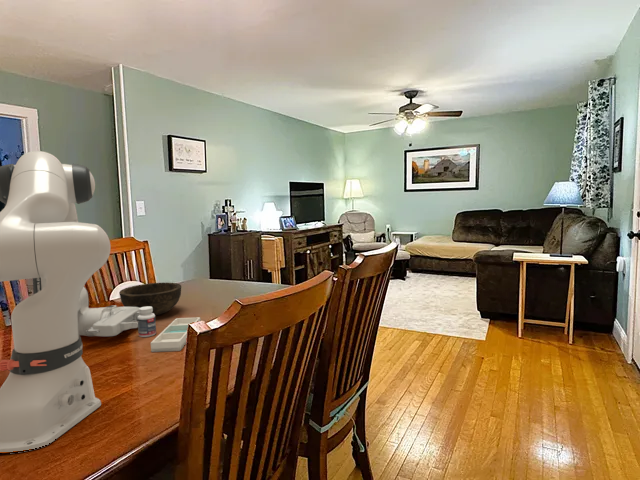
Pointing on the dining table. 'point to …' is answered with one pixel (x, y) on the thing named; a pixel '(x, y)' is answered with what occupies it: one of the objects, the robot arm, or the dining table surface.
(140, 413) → the dining table surface
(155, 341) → the white plastic tray
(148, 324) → the pill bottle
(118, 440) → the dining table surface
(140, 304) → the bowl
